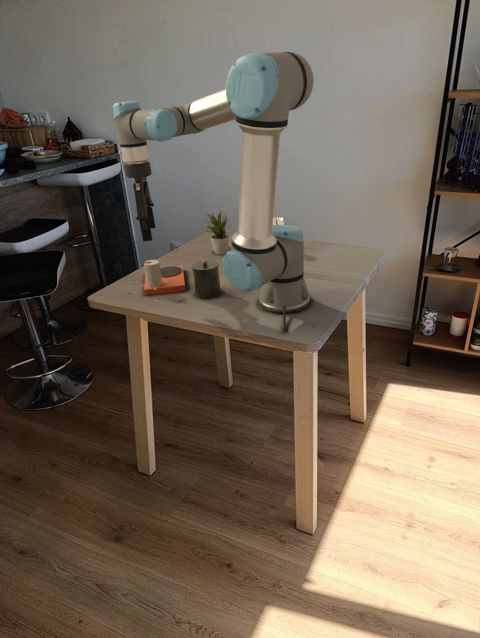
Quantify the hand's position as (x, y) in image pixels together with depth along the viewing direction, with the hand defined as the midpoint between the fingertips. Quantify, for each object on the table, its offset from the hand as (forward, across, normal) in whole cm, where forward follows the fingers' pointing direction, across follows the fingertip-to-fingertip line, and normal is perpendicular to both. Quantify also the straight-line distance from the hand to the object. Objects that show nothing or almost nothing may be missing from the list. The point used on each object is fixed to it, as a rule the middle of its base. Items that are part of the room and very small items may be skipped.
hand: (149, 234), depth 149 cm
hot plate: (+18, -5, +2) cm, 19 cm away
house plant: (+18, -32, +22) cm, 43 cm away
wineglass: (+18, -27, +44) cm, 55 cm away
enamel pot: (+19, +8, +16) cm, 26 cm away
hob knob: (+16, +1, -1) cm, 16 cm away
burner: (+16, -9, +3) cm, 19 cm away
